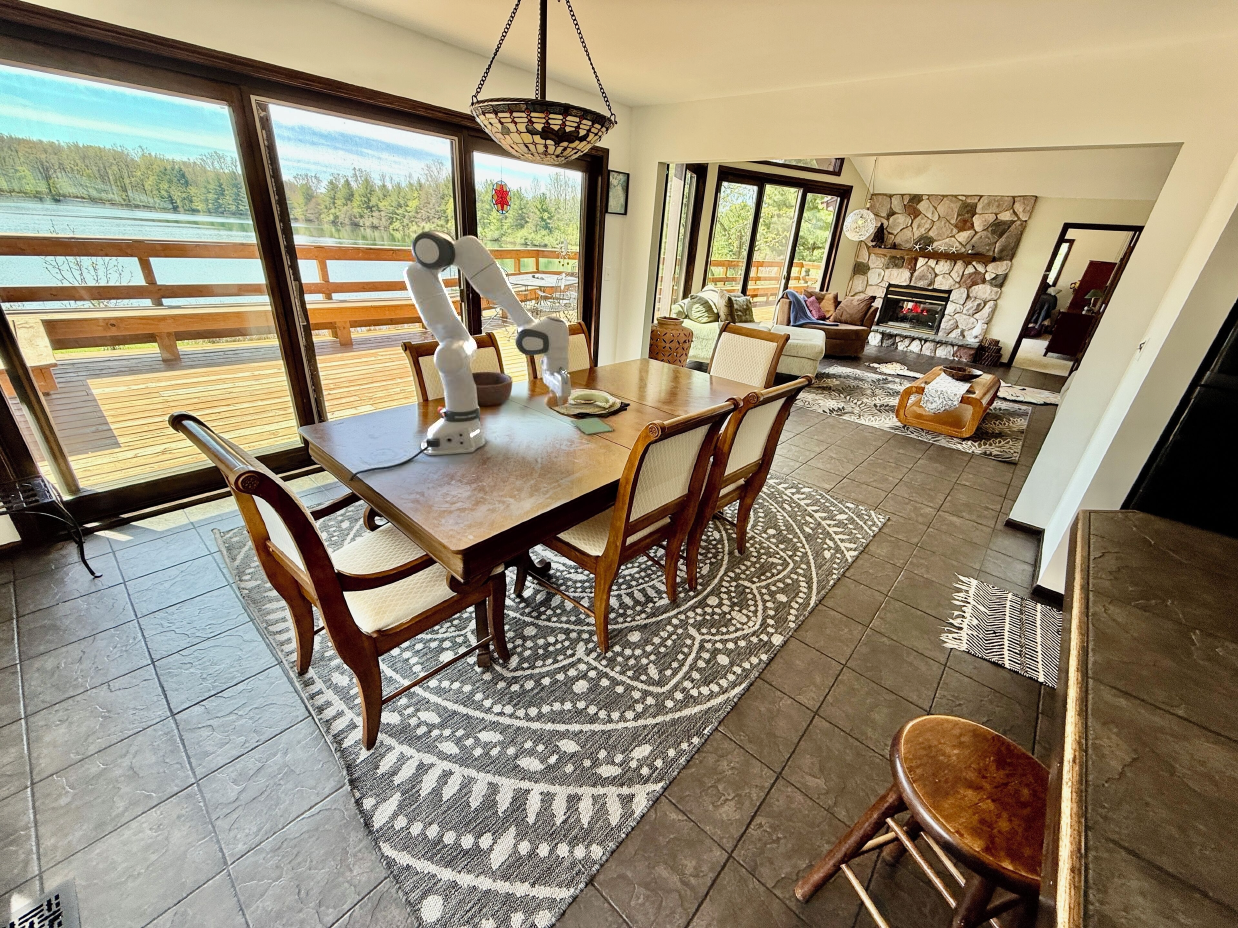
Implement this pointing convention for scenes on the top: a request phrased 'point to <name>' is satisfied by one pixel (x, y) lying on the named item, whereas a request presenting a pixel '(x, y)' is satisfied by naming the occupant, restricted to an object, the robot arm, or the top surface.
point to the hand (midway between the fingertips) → (556, 402)
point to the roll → (554, 401)
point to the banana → (591, 397)
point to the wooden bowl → (492, 388)
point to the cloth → (592, 425)
